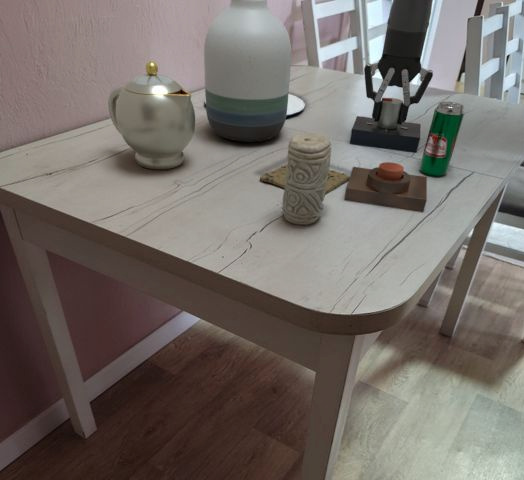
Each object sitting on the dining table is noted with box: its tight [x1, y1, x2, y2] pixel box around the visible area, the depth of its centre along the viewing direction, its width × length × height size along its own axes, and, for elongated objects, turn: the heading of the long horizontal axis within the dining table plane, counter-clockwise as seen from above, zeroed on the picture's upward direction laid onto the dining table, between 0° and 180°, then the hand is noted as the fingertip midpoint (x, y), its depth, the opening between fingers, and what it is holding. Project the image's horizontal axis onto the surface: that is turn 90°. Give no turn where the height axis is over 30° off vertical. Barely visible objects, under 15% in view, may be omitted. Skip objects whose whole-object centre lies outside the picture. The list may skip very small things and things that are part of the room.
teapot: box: [107, 61, 196, 171], centre depth 85 cm, size 18×14×16 cm
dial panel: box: [349, 115, 422, 153], centre depth 105 cm, size 14×10×3 cm
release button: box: [377, 161, 405, 181], centre depth 80 cm, size 4×4×2 cm
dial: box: [377, 97, 404, 129], centre depth 102 cm, size 4×4×5 cm
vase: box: [203, 0, 292, 143], centre depth 97 cm, size 17×17×24 cm
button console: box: [344, 166, 428, 213], centre depth 83 cm, size 13×10×4 cm
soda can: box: [419, 101, 465, 178], centre depth 89 cm, size 5×5×12 cm
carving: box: [282, 134, 332, 226], centre depth 72 cm, size 6×8×12 cm
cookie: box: [259, 163, 350, 195], centre depth 87 cm, size 12×12×1 cm
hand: (387, 121), depth 103 cm, fingers closed on dial, 4 cm apart
